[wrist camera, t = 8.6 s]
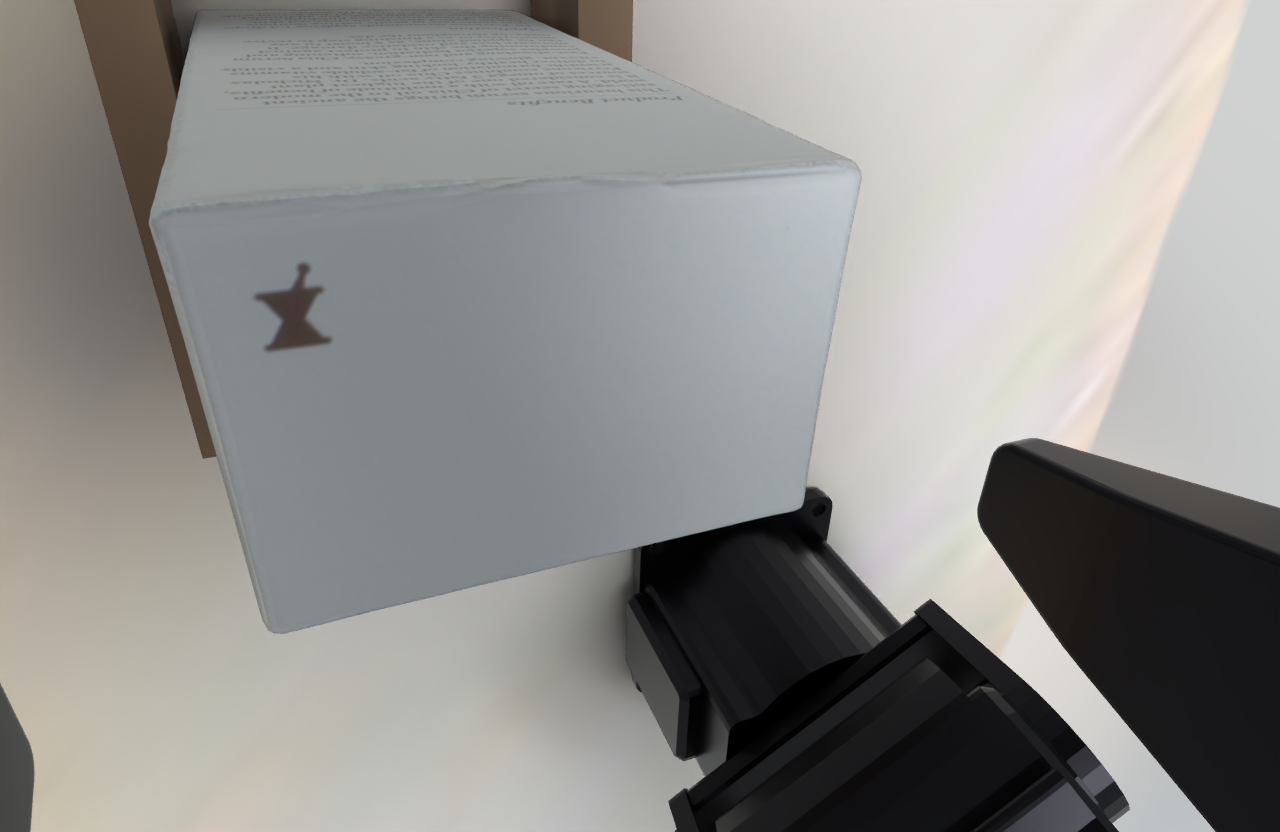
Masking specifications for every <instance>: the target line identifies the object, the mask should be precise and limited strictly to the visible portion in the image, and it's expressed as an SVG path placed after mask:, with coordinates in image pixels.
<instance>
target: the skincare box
mask: <svg viewBox="0 0 1280 832" xmlns="http://www.w3.org/2000/svg"><path fill="white" fill-rule="evenodd" d="M167 148H168V150H167V154H166V158H165V162H164V165H163V167H162V171H161V175H160V179H159V183H158V187H157V191H156V195H155V198H154V202H153V205H152V208H151V212H150V218H149V226H150V229H151V232H152V236H153V239H154V242H155V245H156V248H157V252H158V255H159V258H160V261H161V264H162V267H163V271H164V274H165V277H166V281H167V284H168V287H169V291H170V294H171V298H172V301H173V304H174V308H175V311H176V315H177V318H178V321H179V325H180V328H181V332H182V335H183V338H184V342H185V345H186V349H187V352H188V356H189V359H190V363H191V367H192V370H193V374H194V377H195V381H196V384H197V388H198V391H199V395H200V398H201V402H202V405H203V409H204V413H205V416H206V420H207V423H208V427H209V430H210V434H211V437H212V441H213V444H214V448H215V451H216V455H217V458H218V462H219V466H220V469H221V473H222V476H223V480H224V483H225V487H226V490H227V494H228V498H229V501H230V505H231V508H232V512H233V516H234V519H235V523H236V526H237V530H238V534H239V537H240V541H241V545H242V548H243V552H244V555H245V559H246V563H247V566H248V570H249V573H250V577H251V581H252V584H253V588H254V592H255V595H256V599H257V602H258V606H259V610H260V613H261V616H262V619H263V622H264V623H265V625H266V627H267V629H268V630H269V631H271V632H273V633H280V634H285V633H289V632H293V631H297V630H301V629H305V628H309V627H313V626H317V625H321V624H324V623H328V622H332V621H336V620H340V619H344V618H347V617H351V616H355V615H359V614H363V613H367V612H370V611H374V610H379V609H383V608H387V607H391V606H396V605H400V604H404V603H408V602H413V601H417V600H421V599H425V598H430V597H434V596H438V595H442V594H446V593H450V592H454V591H458V590H462V589H466V588H470V587H474V586H478V585H482V584H487V583H491V582H495V581H499V580H504V579H508V578H512V577H517V576H521V575H525V574H529V573H533V572H537V571H542V570H546V569H550V568H554V567H558V566H563V565H567V564H571V563H575V562H579V561H583V560H588V559H592V558H596V557H600V556H604V555H608V554H612V553H616V552H620V551H625V550H629V549H633V548H637V547H641V546H645V545H649V544H653V543H657V542H662V541H666V540H670V539H674V538H678V537H682V536H687V535H691V534H695V533H699V532H704V531H708V530H712V529H717V528H721V527H725V526H729V525H733V524H737V523H741V522H745V521H749V520H754V519H758V518H763V517H767V516H772V515H776V514H781V513H787V512H792V511H795V510H797V509H799V508H801V507H802V505H803V502H804V497H805V488H806V481H807V475H808V469H809V463H810V456H811V450H812V444H813V438H814V432H815V425H816V419H817V413H818V406H819V400H820V394H821V388H822V382H823V377H824V371H825V366H826V361H827V356H828V351H829V345H830V340H831V335H832V329H833V323H834V318H835V312H836V307H837V301H838V296H839V290H840V285H841V279H842V274H843V269H844V263H845V258H846V253H847V248H848V242H849V237H850V232H851V227H852V222H853V217H854V212H855V208H856V203H857V198H858V194H859V189H860V183H861V171H860V169H859V167H858V166H857V164H856V163H855V162H853V161H852V160H850V159H849V158H846V157H844V156H841V155H839V154H836V153H834V152H831V151H829V150H827V149H824V148H822V147H820V146H818V145H815V144H813V143H811V142H809V141H807V140H804V139H802V138H800V137H798V136H796V135H793V134H791V133H789V132H787V131H785V130H782V129H780V128H777V127H774V126H772V125H770V124H768V123H766V122H765V121H762V120H760V119H758V118H756V117H754V116H752V115H750V114H747V113H745V112H743V111H740V110H738V109H735V108H733V107H731V106H729V105H727V104H725V103H723V102H720V101H718V100H716V99H713V98H711V97H709V96H706V95H704V94H702V93H700V92H698V91H696V90H694V89H691V88H689V87H687V86H684V85H682V84H680V83H677V82H675V81H672V80H670V79H668V78H665V77H663V76H661V75H659V74H657V73H655V72H652V71H650V70H648V69H646V68H643V67H641V66H639V65H637V64H635V63H633V62H630V61H628V60H625V59H623V58H620V57H618V56H616V55H614V54H611V53H609V52H607V51H605V50H602V49H600V48H598V47H595V46H593V45H591V44H589V43H586V42H584V41H582V40H580V39H577V38H575V37H573V36H570V35H568V34H566V33H563V32H561V31H559V30H557V29H555V28H552V27H550V26H548V25H546V24H544V23H541V22H539V21H537V20H535V19H533V18H530V17H528V16H526V15H524V14H521V13H519V12H516V11H513V10H201V11H199V12H197V14H196V16H195V21H194V24H193V28H192V34H191V38H190V44H189V49H188V53H187V56H186V60H185V65H184V68H183V72H182V76H181V83H180V88H179V92H178V98H177V101H176V106H175V111H174V115H173V119H172V124H171V131H170V137H169V140H168V143H167Z"/></svg>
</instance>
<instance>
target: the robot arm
mask: <svg viewBox="0 0 1280 832" xmlns="http://www.w3.org/2000/svg"><path fill="white" fill-rule="evenodd" d="M817 504H818V505H817ZM816 505H817V506H816ZM815 506H816V507H815ZM814 507H815V508H814ZM831 512H832V501H831V499H830V498H829V497H828V496H827V495H826V494H825V493H824V492H823V491H821V490H811V491H807V492H805V497H804V502H803V505H802V507H801V508H799V509H797V510H795V511H792V512H787V513H781V514H776V515H772V516H767V517H763V518H758V519H754V520H749V521H745V522H741V523H737V524H733V525H729V526H725V527H721V528H717V529H712V530H708V531H704V532H699V533H695V534H691V535H687V536H682V537H678V538H674V539H670V540H666V541H662V542H658V543H657V544H656V545H655V546H653V547H651V548H649V547H650V546H651V545H652V544H649V545H645V546H641V547H637V548H635V582H634V594H632V595H631V596H630V598H629V600H628V602H627V623H626V661H627V663H628V665H629V667H630V669H631V671H632V679H633V682H634V684H635V686H636V688H637V689H638V690H639V691H640V692H642V693H643V695H644V697H645V698H646V700H647V702H648V704H649V706H650V708H651V710H652V712H653V714H654V716H655V718H656V720H657V722H658V724H659V726H660V728H661V730H662V732H663V734H664V736H665V738H666V740H667V742H668V744H669V746H670V748H671V750H672V752H673V754H674V755H675V756H676V757H677V758H679V759H681V760H682V761H686V760H689V759H692V758H696V760H697V762H698V764H699V766H700V768H701V770H702V771H703V773H704V775H705V777H704V778H703V779H702V780H701V781H699V782H698V783H697V784H695V785H694V786H693V787H692V788H690V789H689V790H687V789H685V788H684V789H683V790H682V791H681V792H679V793H678V794H677V795H675V796H674V797H673V798H671V799H670V800H669V801H668V802H669V806H670V809H671V812H672V815H673V818H674V821H675V825H676V828H677V829H676V830H675V832H1119V831H1118V830H1117V829H1116V828H1115V827H1114V825H1113V824H1112V823H1113V822H1114V821H1116V820H1117V819H1118V818H1120V817H1121V816H1122V815H1124V814H1125V813H1126V812H1127V811H1129V810H1130V809H1129V804H1128V802H1127V800H1126V798H1125V796H1124V794H1123V793H1122V791H1121V790H1120V789H1119V787H1118V785H1117V784H1116V782H1115V781H1114V780H1113V778H1112V777H1111V776H1110V774H1109V773H1108V772H1107V770H1106V769H1105V768H1104V766H1103V765H1102V764H1101V763H1100V762H1099V760H1098V759H1097V758H1096V756H1095V755H1094V754H1093V753H1092V752H1091V750H1090V749H1089V748H1088V747H1087V746H1086V744H1085V743H1084V742H1083V741H1082V740H1081V739H1080V738H1079V737H1078V735H1077V734H1076V733H1075V732H1074V731H1073V730H1072V729H1071V727H1070V726H1069V725H1068V724H1067V723H1066V722H1065V721H1064V720H1063V719H1062V718H1061V717H1060V715H1059V714H1058V713H1057V712H1056V711H1055V710H1054V709H1053V708H1052V707H1051V706H1050V705H1049V704H1048V703H1047V702H1046V701H1045V700H1044V699H1043V698H1042V697H1041V696H1040V695H1039V694H1038V693H1037V692H1036V691H1035V690H1034V689H1033V688H1032V687H1031V686H1029V685H1028V684H1027V683H1026V682H1025V681H1024V680H1023V679H1022V678H1021V677H1019V676H1018V675H1017V674H1016V673H1015V672H1013V670H1011V669H1010V668H1009V667H1008V666H1007V665H1006V664H1005V663H1003V662H1002V661H1001V660H1000V659H999V658H998V657H997V656H995V655H994V654H993V653H992V652H991V651H990V650H989V649H987V648H986V647H985V646H984V645H983V644H982V643H980V642H979V641H978V640H977V639H976V638H975V637H974V636H972V635H971V634H970V633H969V632H968V631H967V630H966V629H964V628H963V627H962V626H961V625H960V624H959V623H958V622H956V621H955V620H954V619H953V618H952V617H951V616H950V615H948V614H947V613H946V612H945V611H944V610H943V609H942V608H940V607H939V606H938V605H937V604H936V603H935V602H934V601H932V600H931V599H929V600H928V601H927V602H925V603H924V604H923V605H922V606H920V607H919V608H918V609H916V610H915V611H914V612H915V614H916V615H914V616H913V617H912V618H911V619H909V620H908V621H907V622H905V623H904V624H903V625H901V624H900V623H899V621H898V620H897V619H896V618H895V617H894V616H893V615H892V614H891V613H890V612H889V610H888V609H887V608H886V607H885V606H884V605H883V604H882V603H881V602H880V600H879V599H878V598H877V597H876V596H875V595H874V594H873V593H872V592H871V591H870V589H869V588H868V587H867V586H866V585H865V584H864V583H863V582H862V581H861V580H860V578H859V577H858V576H857V575H856V574H855V573H854V572H853V571H852V570H851V569H850V567H849V566H848V565H847V564H846V563H845V562H844V561H843V560H842V559H841V557H840V556H839V555H838V554H837V553H836V552H835V551H834V550H833V549H832V548H831V546H830V545H829V544H828V543H827V542H826V541H827V535H828V529H829V524H830V518H831ZM978 520H979V523H980V526H981V528H982V530H983V532H984V534H985V535H986V536H987V538H988V539H989V541H990V542H991V544H992V545H993V547H994V548H995V550H996V551H997V552H998V554H999V555H1000V557H1001V558H1002V560H1003V561H1004V563H1005V564H1006V566H1007V567H1008V568H1009V570H1010V571H1011V573H1012V574H1013V576H1014V577H1015V579H1016V580H1017V581H1018V583H1019V584H1020V586H1021V587H1022V589H1023V590H1024V592H1025V593H1026V595H1027V596H1028V597H1029V599H1030V600H1031V602H1032V603H1033V605H1034V606H1035V608H1036V609H1037V611H1038V612H1039V613H1040V615H1041V616H1042V617H1043V619H1044V621H1045V622H1046V623H1047V625H1048V627H1049V628H1050V629H1051V631H1052V632H1053V633H1054V635H1055V636H1056V638H1057V639H1058V640H1059V642H1060V643H1061V644H1062V646H1063V647H1064V648H1065V650H1066V651H1067V652H1068V653H1069V655H1070V656H1071V657H1072V658H1073V660H1074V661H1075V662H1076V663H1077V665H1078V666H1079V667H1080V668H1081V669H1082V671H1083V672H1084V673H1085V675H1086V676H1087V677H1088V678H1089V679H1090V681H1091V682H1092V683H1093V684H1094V685H1095V686H1096V688H1097V689H1098V690H1099V691H1100V693H1101V694H1102V695H1103V696H1104V697H1105V699H1106V700H1107V701H1108V702H1109V703H1110V705H1111V706H1112V707H1113V708H1114V709H1115V711H1116V712H1117V713H1118V714H1119V716H1120V717H1121V718H1122V719H1123V720H1124V722H1125V723H1126V724H1127V725H1128V726H1129V728H1130V729H1131V730H1132V731H1133V732H1134V734H1135V735H1136V736H1137V737H1138V739H1140V741H1141V742H1142V743H1143V745H1144V746H1145V747H1146V748H1147V749H1148V751H1149V752H1150V753H1151V754H1152V755H1153V757H1154V758H1155V759H1156V760H1157V761H1158V763H1159V764H1160V765H1161V766H1162V768H1163V769H1164V770H1165V771H1166V772H1167V774H1169V776H1170V777H1171V778H1172V780H1173V781H1174V782H1175V783H1176V784H1177V785H1178V787H1179V788H1180V789H1181V790H1182V792H1183V793H1184V794H1185V795H1186V796H1187V798H1188V799H1189V800H1190V801H1191V802H1192V804H1193V805H1194V806H1195V807H1196V809H1197V810H1198V811H1199V812H1200V813H1201V815H1202V816H1203V817H1204V818H1205V819H1206V821H1207V822H1208V823H1209V824H1210V825H1211V827H1212V828H1213V829H1214V830H1215V832H1280V508H1278V507H1275V506H1271V505H1268V504H1264V503H1261V502H1258V501H1254V500H1251V499H1247V498H1243V497H1240V496H1236V495H1233V494H1230V493H1226V492H1223V491H1219V490H1216V489H1212V488H1209V487H1205V486H1202V485H1198V484H1195V483H1191V482H1188V481H1184V480H1181V479H1178V478H1174V477H1171V476H1167V475H1164V474H1160V473H1157V472H1153V471H1150V470H1146V469H1143V468H1139V467H1136V466H1132V465H1129V464H1125V463H1122V462H1118V461H1115V460H1111V459H1108V458H1104V457H1101V456H1097V455H1094V454H1091V453H1087V452H1084V451H1080V450H1077V449H1073V448H1070V447H1066V446H1063V445H1059V444H1056V443H1052V442H1049V441H1045V440H1042V439H1037V438H1029V439H1023V440H1019V441H1014V442H1010V443H1005V444H1003V445H1001V446H999V447H998V448H997V449H996V450H995V452H994V453H993V455H992V458H991V461H990V464H989V468H988V472H987V475H986V479H985V482H984V486H983V489H982V493H981V496H980V500H979V504H978ZM33 789H34V760H33V754H32V750H31V746H30V743H29V741H28V739H27V737H26V735H25V733H24V731H23V729H22V727H21V725H20V723H19V720H18V718H17V716H16V714H15V712H14V710H13V708H12V706H11V704H10V702H9V700H8V698H7V696H6V694H5V692H4V690H3V688H2V686H1V684H0V832H30V831H31V817H32V803H33Z"/></svg>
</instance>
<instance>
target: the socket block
mask: <svg viewBox="0 0 1280 832" xmlns="http://www.w3.org/2000/svg"><path fill="white" fill-rule="evenodd" d="M74 2H75V5H76V9H77V13H78V16H79V20H80V23H81V27H82V30H83V34H84V38H85V41H86V45H87V48H88V52H89V55H90V59H91V62H92V66H93V70H94V73H95V77H96V80H97V84H98V87H99V91H100V94H101V98H102V102H103V105H104V109H105V112H106V116H107V119H108V123H109V126H110V130H111V134H112V137H113V141H114V144H115V148H116V151H117V155H118V158H119V162H120V166H121V169H122V173H123V176H124V180H125V183H126V187H127V190H128V194H129V198H130V201H131V205H132V208H133V212H134V215H135V219H136V222H137V226H138V230H139V233H140V237H141V240H142V244H143V247H144V251H145V254H146V258H147V262H148V265H149V269H150V272H151V276H152V279H153V283H154V286H155V290H156V294H157V297H158V301H159V304H160V308H161V311H162V315H163V318H164V322H165V326H166V329H167V333H168V336H169V340H170V343H171V347H172V350H173V354H174V358H175V361H176V365H177V368H178V372H179V375H180V379H181V382H182V386H183V390H184V393H185V397H186V400H187V404H188V407H189V411H190V414H191V418H192V422H193V425H194V429H195V432H196V436H197V439H198V443H199V447H200V450H201V454H202V457H203V458H209V457H215V456H217V455H216V451H215V448H214V444H213V441H212V437H211V434H210V430H209V427H208V423H207V420H206V416H205V413H204V409H203V405H202V402H201V398H200V395H199V391H198V388H197V384H196V381H195V377H194V374H193V370H192V367H191V363H190V359H189V356H188V352H187V349H186V345H185V342H184V338H183V335H182V332H181V328H180V325H179V321H178V318H177V315H176V311H175V308H174V304H173V301H172V298H171V294H170V291H169V287H168V284H167V281H166V277H165V274H164V271H163V267H162V264H161V261H160V258H159V255H158V252H157V248H156V245H155V242H154V239H153V236H152V232H151V229H150V226H149V218H150V212H151V208H152V205H153V202H154V198H155V195H156V191H157V187H158V183H159V179H160V175H161V171H162V167H163V165H164V162H165V158H166V154H167V150H168V148H167V143H168V140H169V137H170V131H171V124H172V119H173V115H174V111H175V106H176V101H177V98H178V92H179V88H180V83H181V76H182V72H183V68H184V65H185V62H184V57H183V53H182V49H181V44H180V40H179V36H178V31H177V27H176V23H175V18H174V14H173V10H172V5H171V1H170V0H74ZM531 4H532V18H533V19H535V20H537V21H539V22H541V23H544V24H546V25H548V26H550V27H552V28H555V29H557V30H559V31H561V32H563V33H566V34H568V35H570V36H573V37H575V38H577V39H580V40H582V41H584V42H586V43H589V44H591V45H593V46H595V47H598V48H600V49H602V50H605V51H607V52H609V53H611V54H614V55H616V56H618V57H620V58H623V59H625V60H628V61H630V62H632V16H633V0H531Z"/></svg>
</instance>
